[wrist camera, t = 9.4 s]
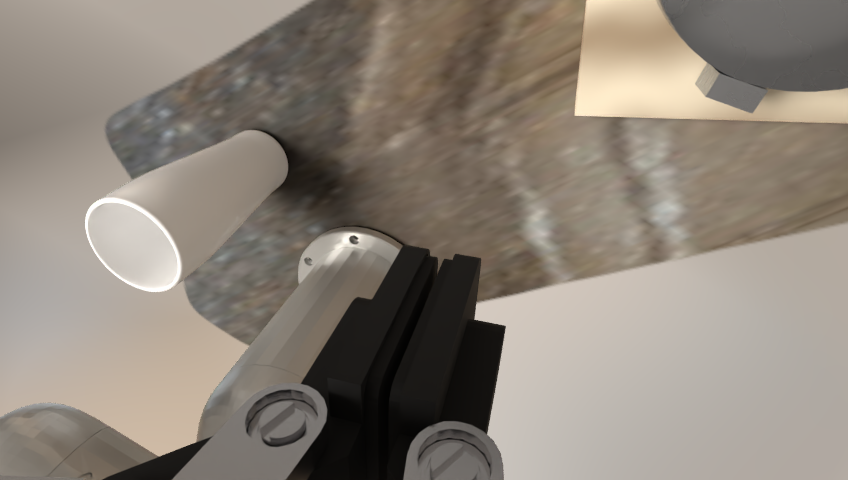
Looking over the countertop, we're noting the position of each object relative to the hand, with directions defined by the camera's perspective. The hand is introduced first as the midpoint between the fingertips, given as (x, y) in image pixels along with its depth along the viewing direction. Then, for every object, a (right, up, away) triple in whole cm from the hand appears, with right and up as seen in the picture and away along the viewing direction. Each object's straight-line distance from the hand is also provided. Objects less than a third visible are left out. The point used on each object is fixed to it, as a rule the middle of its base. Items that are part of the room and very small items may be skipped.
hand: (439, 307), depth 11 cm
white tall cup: (-14, +8, +32) cm, 36 cm away
